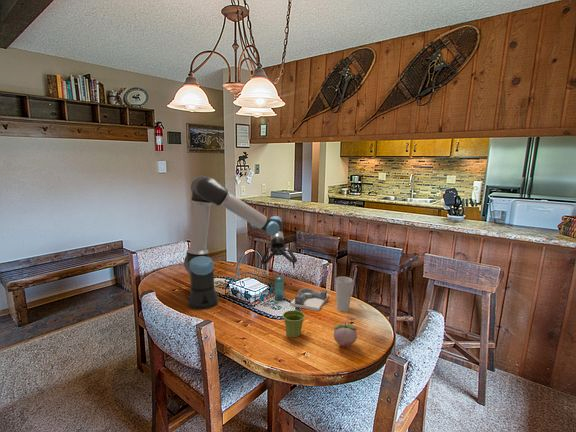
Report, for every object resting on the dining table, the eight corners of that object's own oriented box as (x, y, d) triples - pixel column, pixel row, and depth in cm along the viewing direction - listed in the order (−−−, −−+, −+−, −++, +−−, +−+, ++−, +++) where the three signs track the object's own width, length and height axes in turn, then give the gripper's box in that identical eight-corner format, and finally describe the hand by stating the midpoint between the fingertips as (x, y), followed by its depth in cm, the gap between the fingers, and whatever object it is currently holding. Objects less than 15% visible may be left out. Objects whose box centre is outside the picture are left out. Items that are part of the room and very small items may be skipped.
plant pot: (291, 326, 144) (291, 308, 143) (308, 333, 138) (309, 314, 137) (278, 334, 137) (278, 315, 136) (295, 342, 131) (295, 323, 130)
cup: (351, 313, 156) (352, 283, 153) (333, 312, 157) (334, 282, 154) (351, 306, 164) (352, 277, 161) (334, 304, 165) (335, 275, 163)
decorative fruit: (353, 339, 134) (354, 317, 132) (358, 351, 126) (359, 327, 124) (331, 340, 133) (331, 317, 131) (334, 351, 125) (335, 328, 123)
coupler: (284, 300, 170) (284, 279, 168) (275, 301, 169) (274, 279, 167) (283, 296, 174) (283, 275, 172) (274, 297, 174) (274, 276, 172)
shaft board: (318, 311, 158) (318, 301, 157) (290, 305, 164) (290, 295, 163) (328, 296, 175) (328, 287, 174) (302, 292, 180) (302, 283, 179)
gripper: (297, 243, 193) (301, 276, 181) (255, 244, 190) (257, 278, 178) (299, 236, 187) (303, 270, 175) (256, 238, 183) (257, 272, 172)
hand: (280, 274), depth 176 cm, fingers open, 13 cm apart
